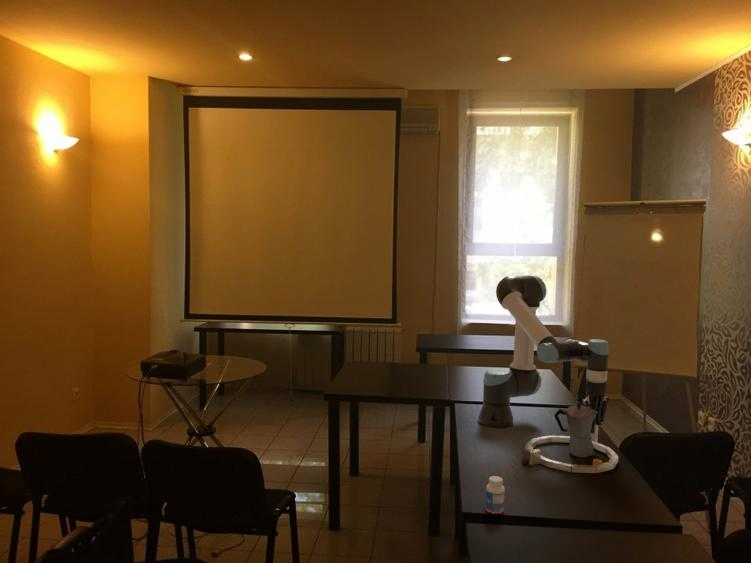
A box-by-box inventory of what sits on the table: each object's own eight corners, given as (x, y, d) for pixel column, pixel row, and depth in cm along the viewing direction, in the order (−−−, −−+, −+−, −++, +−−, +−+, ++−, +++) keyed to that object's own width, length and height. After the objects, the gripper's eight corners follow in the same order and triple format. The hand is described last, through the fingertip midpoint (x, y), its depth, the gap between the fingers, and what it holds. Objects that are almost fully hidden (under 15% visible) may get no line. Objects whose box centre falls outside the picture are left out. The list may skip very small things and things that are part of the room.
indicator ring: (493, 450, 225) (494, 437, 225) (570, 436, 243) (570, 424, 243) (555, 482, 197) (555, 468, 196) (636, 463, 215) (636, 450, 214)
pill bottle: (483, 505, 180) (484, 474, 179) (500, 505, 180) (501, 474, 179) (488, 514, 174) (489, 482, 174) (506, 514, 175) (507, 482, 174)
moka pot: (604, 457, 217) (598, 409, 212) (560, 460, 221) (554, 412, 216) (599, 443, 226) (594, 396, 221) (558, 446, 230) (552, 400, 225)
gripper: (592, 384, 218) (588, 446, 220) (616, 381, 224) (613, 441, 226) (576, 379, 225) (573, 440, 227) (600, 376, 231) (597, 435, 233)
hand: (593, 440), depth 227 cm, fingers closed
